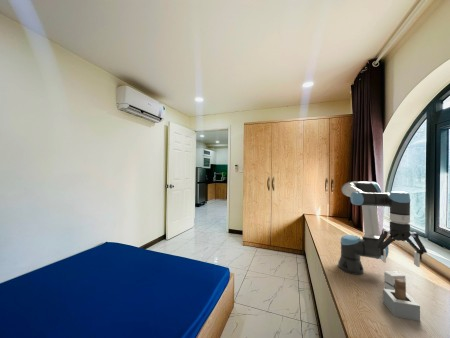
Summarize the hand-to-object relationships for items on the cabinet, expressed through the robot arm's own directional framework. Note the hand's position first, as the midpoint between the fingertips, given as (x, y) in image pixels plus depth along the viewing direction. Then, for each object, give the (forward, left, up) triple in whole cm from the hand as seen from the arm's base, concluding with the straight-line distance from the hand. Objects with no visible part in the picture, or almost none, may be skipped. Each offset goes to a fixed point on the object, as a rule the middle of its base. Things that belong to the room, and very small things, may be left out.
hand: (399, 263), depth 92 cm
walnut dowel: (0, 0, -24) cm, 24 cm away
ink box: (-15, +5, -24) cm, 29 cm away
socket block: (0, 0, -24) cm, 24 cm away
